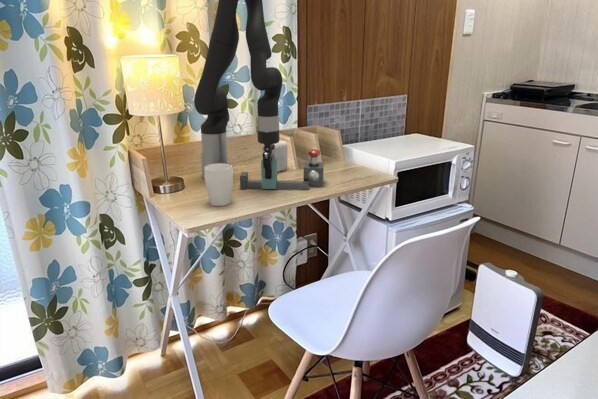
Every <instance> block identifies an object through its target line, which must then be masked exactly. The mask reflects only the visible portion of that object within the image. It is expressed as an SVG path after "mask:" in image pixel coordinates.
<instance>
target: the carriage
mask: <svg viewBox="0 0 598 399" xmlns="http://www.w3.org/2000/svg"><path fill="white" fill-rule="evenodd" d="M260 163H261V164H260V168H261V169H260V173H261V174H260V175H261V177H260V178H261V179H260V180H262V189H261V190H277V189H276V181H277V180H278V172H277V158H274V159H273V162H272V178H271V179H266V178H265V169H264V167H263V158H262V159H261V160H260ZM266 165H269V163H266Z"/></svg>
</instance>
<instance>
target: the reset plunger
mask: <svg viewBox="0 0 598 399" xmlns="http://www.w3.org/2000/svg"><path fill="white" fill-rule="evenodd" d="M307 155H308V156H309V162H310V166H318V162H319V156H320V155H321V150H320V149H316V148H314V149H308V150H307Z"/></svg>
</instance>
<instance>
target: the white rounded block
mask: <svg viewBox="0 0 598 399" xmlns="http://www.w3.org/2000/svg"><path fill="white" fill-rule="evenodd" d="M274 145H275V158H277V173H278V172H282V171H286V170H288V143H287V141H286V140H285V141H284V140H280V141H279V142H278V143H276V144H274Z"/></svg>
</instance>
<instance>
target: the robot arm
mask: <svg viewBox="0 0 598 399" xmlns="http://www.w3.org/2000/svg"><path fill="white" fill-rule="evenodd" d="M244 2H245V6H246V12H247V15H246V16H247V17H246V23H245V40H246V45H247V48H248V52H249V56H250V80H251V83H252V85H253V86H254V88H255V89H256V90H258V91H263V92H264V93H263V96H261V97H259V98H258V100H257V103H256V105H257V106H256V107H257V118H256V119H257V120H256V126H257V127H256V131H257V132H256V133H257V134H256V135H257V142H258V143H259V144H262V145H264V146H263V148H262V159H263V167H264V169H265V178H266V179H271V178H272V162H273V159H274V158H275V145H274V144H276V143H278V142H279V141H280V119H279V101H280V97H281V92H282V88H283V76H282V72H281V71H280V69H279V68H278V67H275V66H274V67H272V66H270V67H267V60H270V59H271V57H272V55H273V53H272V49H271V45H270V40H269V35H268V32H267V28H266V21H265V16H264V6H263V5H264V4H263V0H244ZM238 4H239V0H218V3H217V7H216V13H215V18H214V23H213V27H212V32H211V35H210V40H209V43H208V48H207V53H206V57H205V60H204V61H205V62H204V64H203V68H202V73H201V75H200V80H199V82H198V85H197V88H196V90H195V93H194V97H193V104H194V108H195V111H197V112H196V113H198V114H200V115H203V116H206V119H205V120H204V122H203V123H201V124H200V134H201V137H200V138H201V149H202V150H201V153H200V161H201V176H202V179H205V178H204V167H205V166H207V165H210V164H219V163H222V164H229V162H228V161H229V160H228V158H229V157H228V156H229V155H228V141H227V126H228V122H229V103H228V102H229V101H228V97H227V94H226V92H225V91H224V89H222V88H221V87H220V86H219V83H220V81H221V79H222V78H223V76H224V74H225V73H226V71H227V70H228V69H229V67H230V66H231V65H232V62H234V59H235V57H236V53H237V50H238V45H239V41H240V32H239V26H238V22H237V21H238V20H237V10H238ZM218 86H219V87H218ZM266 163H269V165H266Z"/></svg>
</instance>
